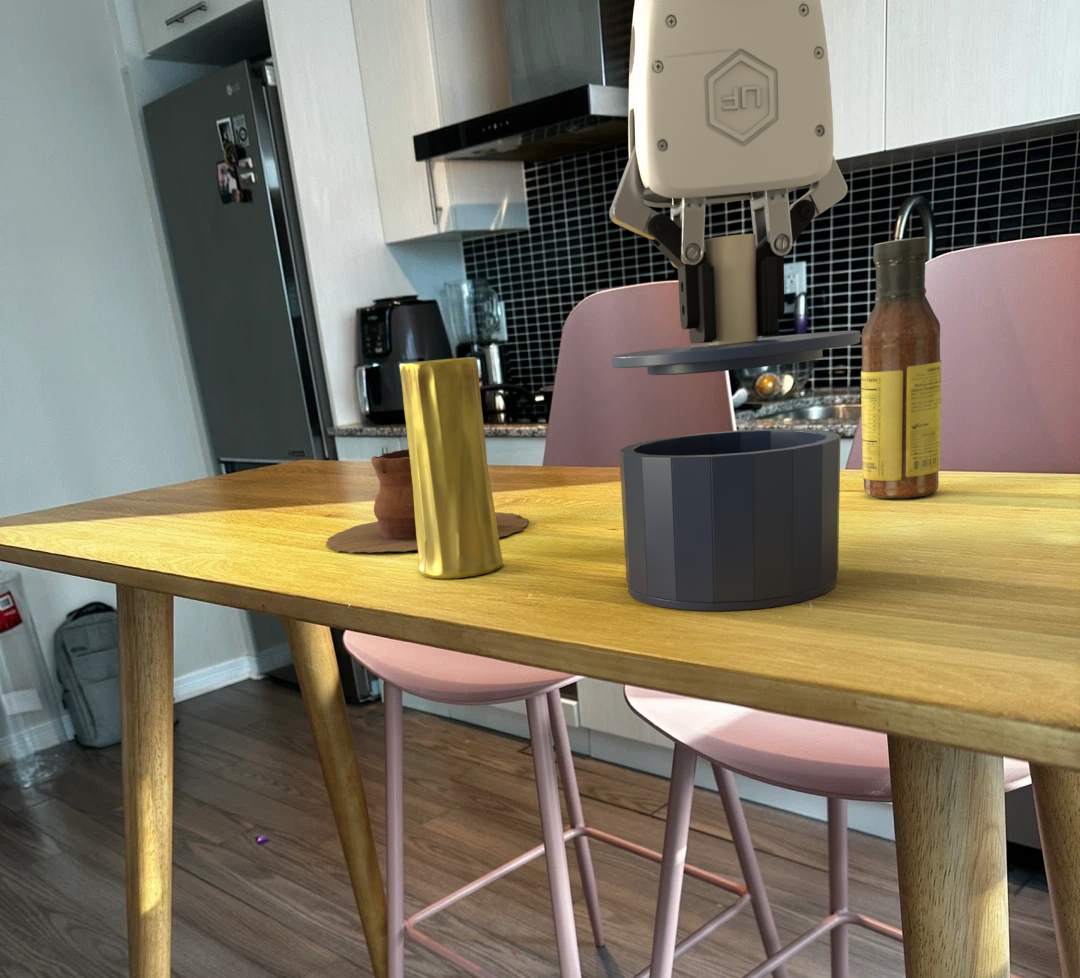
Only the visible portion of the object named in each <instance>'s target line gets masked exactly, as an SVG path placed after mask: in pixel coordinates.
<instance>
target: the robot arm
mask: <svg viewBox="0 0 1080 978" xmlns="http://www.w3.org/2000/svg"><path fill="white" fill-rule="evenodd" d="M823 13H824V12H823V8H822V1H821V0H634V6H633V14H632V23H631V35H630V47H629V68H628V71H629V72H628V73H629V75H628V118H627V119H628V120H627V121H628V123H627V124H628V127H627V129H628V131H627V132H628V133H627V134H628V161H627V163H626V166H625V169H624V171H623V174H622V176H621V179H620V181H619V185H618V188H617V190H616V193H615V195H614V198H613V200H612V203H611V206H610V207H609V220H611V221H612V222H613V223H614V224H616V225H617V226H620V227H622V228H624V229H627V230H628V231H630V232H633V233H635V234H637V235H640V236H643V237H645V238H646V239H647V240H648V241H649V242H650V243H651V244H652V245H653V246H654V247H656V248H657V249H658V250H659V251H660V252H661V253H662V254H663V255H664V256H665V257H666V258H667V259H668V260H669V262H670V264H671V265H672V266H673V268H676V269H677V279H678V282H677V283H678V301H679V302H678V303H679V321H680V326H681V329H682V330H688V334H689V335H688V336H689V341H690V344H706V343H708V342H712V341H713V339H716V312H715V285H714V268H713V266H711V263H707V262H706V253H705V252H704V241H705V227H706V224H705V222H706V205H710V204H718V203H719V204H720V203H731V202H740V201H749V204H750V213H751V223H752V224H751V225H752V232H753V233H752V234H755V237H756V277H757V317H758V337H771V336H777V334H778V329H779V321H778V320H782V319H783V318H784V316H785V307H786V306H785V305H786V303H785V302H786V300H785V256H786V255H788V254H789V253H790V251H791V250H792V247H793V244H794V243H795V242H796V241H797V240H798V239H799V237H800V236H801V234H802V233H803V232H804V231H805V229H806V228H807V227H808V226H809V224H810V223H811V222H812V220H814V219H815V218H817V217H818V216H820V215H821V214H822V213H824V212H825V211H827V210H828V209H830V208H831V207H833V206H835V204H837V203H838V202H840V201H841V200H843V199H844V198H845V197H846V195H847V194H848V184H847V183H846V180H845V178H844V176H843V173H842V171H841V169H840V167H839V164H838V163H837V161H836V158H835V156H834V118H833V115H834V114H833V103H832V102H833V101H832V85H831V74H830V73H831V72H830V61H829V53H828V42H827V36H826V27H825V20H824V14H823ZM808 185H810V187H809V188H808V189H809V190H808V191H807V192H806V193H805V194H804V195H802V196H801V197H800V198H798V199H797V200H795V201H794V202H793V203H791V204H790V199H789V193H791V192H793V191H795V190H797V189H798V188H799V187H805V186H808ZM652 207H653V208H670V216H669V215H668V214H665V213H660V212H658V211H656V210H655V209H653V208H652Z"/></svg>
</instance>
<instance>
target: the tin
mask: <svg viewBox="0 0 1080 978" xmlns="http://www.w3.org/2000/svg"><path fill="white" fill-rule="evenodd" d="M618 453H619V454H618V455H619V457H618V458H619V471H620V489H621V490H620V491H621V508H622V526H623V544H624V563H625V578H626V583H627V589H628V590H627V591H628V593H629V595H630V596H631V597H632V598H633V599H635V600H637V601H639V602H642V603H645V604H647V605H651V606H655V607H660V608H666V609H673V610H674V609H675V610H684V611H699V612H731V611H748V610H749V611H751V610H760V609H768V608H776V607H782V606H786V605H792V604H797V603H801V602H805V601H808V600H811V599H812V600H813V599H815V598H817V597H821V596H823V595H825V594H828V593H829V592H830V591H832V590H833V589H834V588H835V587H836V585H837V584H838V572H839V551H840V549H839V547H840V545H839V544H840V540H839V539H840V495H841V493H840V492H841V491H840V489H841V488H840V486H841V483H840V482H841V434H840V433H837V432H833V431H829V430H823V429H821V430H820V429H808V428H804V429H803V428H800V429H799V428H768V429H767V428H766V429H765V428H764V429H743V430H728V431H727V430H726V431H715V432H714V431H713V432H704V433H695V434H685V435H676V436H670V437H663V438H656V439H650V440H646V441H645V440H644V441H641V442H637V443H632V444H629V445H626V446H625V447H623V448H621V449H620V450H619V451H618Z"/></svg>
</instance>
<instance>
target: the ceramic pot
mask: <svg viewBox="0 0 1080 978" xmlns="http://www.w3.org/2000/svg"><path fill="white" fill-rule="evenodd" d="M371 465H372V467H373V468H374V470H375V473H376V476H377V478H378V481H379V490H378V493H377V494H376V496H375V499H374V504H373V513H374V516H375V518H376V520H377V521H372V522H367V523H361V524H358V525H355V526H352V527H350V528H348V529H344V530H342V531H339V532H337V533H334V535H331V536H330V537H328V538H327V539H326V540H327V541H326V542H325V543H326V544H325V545H326V546H327V547H328V548H329V549H330V550H334V552H336V553H338V552H339V553H340V552H342V553H343V552H346V553H349V554H352V553H363V552H364V553H370V554H371V553H384V552H404V553H407V552H408V551H418V546H417V537H416V523H415V510H414V494H413V483H412V474H411V464H410V455H409V448H407V449H400V450H393V451H392V452H384V453H382V454H381V455H380V456H375V455H374V456H372V457H371ZM495 515H496V522H497V529H498V535H499V538H502V537H506V536H510V535H511V534H514V533H517V532H521V531H523V530H525V529H524V528H525V527H526V526H527V525H528V524H529V523H530V521H529V518H526V517H523V516H521V514H516V513H513V512H509V513H508V512H496V511H495Z"/></svg>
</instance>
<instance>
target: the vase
mask: <svg viewBox="0 0 1080 978" xmlns="http://www.w3.org/2000/svg"><path fill="white" fill-rule="evenodd" d="M399 372H400V380H401V389H402V390H401V391H402V399H403V400H402V401H403V411H404V419H405V427H406V428H405V429H406V436H407V445H408V449H409V455H410V464H411V474H412V483H413V494H414V510H415V523H416V537H417V546H418V550H417V554H418V555H417V556H418V568H417V569H418V571H417V572H418V573H419V574H420V575H421V576H423V577H425V578H430V579H443V580H445V579H446V580H447V579H451V580H452V579H463V578H469V577H476V576H477V577H478V576H481V575H486V574H489V573H492V572H494V571H497V570H499V569H500V568H501V567H502V566H503V565H504V559H503V555H502V550H501V549H502V548H501V543H500V537H499V535H498V529H497V522H496V515H495V512H496V511H495V510H496V509H495V503H494V502H495V501H494V497H493V496H494V495H493V491H492V483H491V479H490V473H489V466H488V457H487V445H486V434H485V427H484V416H483V407H482V395H481V385H480V374H479V363H478V359H477V358H476V357H474V356H470V357H468V356H467V357H458V358H443V359H434V360H433V359H432V360H423V361H415V362H414V361H412V362H404V363H399Z"/></svg>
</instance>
